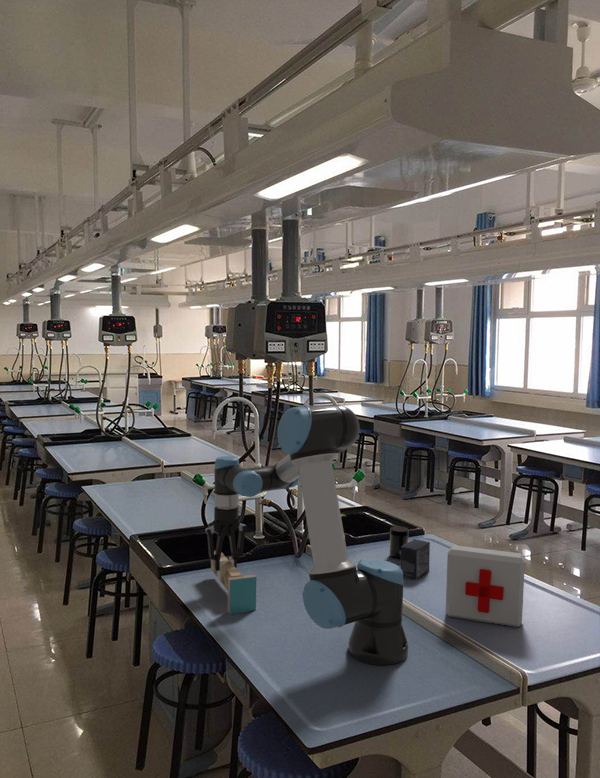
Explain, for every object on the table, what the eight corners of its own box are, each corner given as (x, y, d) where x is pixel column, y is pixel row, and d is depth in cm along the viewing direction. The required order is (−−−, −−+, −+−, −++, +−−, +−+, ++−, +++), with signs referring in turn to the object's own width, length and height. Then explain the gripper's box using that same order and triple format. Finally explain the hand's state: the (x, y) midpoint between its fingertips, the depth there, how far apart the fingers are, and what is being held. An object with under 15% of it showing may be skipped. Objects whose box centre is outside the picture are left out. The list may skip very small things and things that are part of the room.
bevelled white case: (444, 619, 189) (446, 551, 188) (447, 608, 197) (450, 543, 195) (521, 631, 182) (524, 561, 180) (522, 620, 189) (525, 552, 188)
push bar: (241, 594, 197) (241, 575, 197) (231, 596, 196) (232, 576, 196) (219, 567, 219) (219, 550, 219) (210, 568, 218) (211, 551, 218)
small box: (412, 567, 232) (413, 538, 231) (429, 571, 228) (431, 541, 227) (398, 575, 224) (399, 545, 223) (416, 580, 220) (417, 549, 219)
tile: (255, 610, 193) (256, 576, 192) (229, 614, 190) (230, 580, 189) (253, 607, 195) (254, 574, 194) (227, 611, 192) (228, 578, 191)
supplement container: (396, 560, 238) (397, 532, 238) (385, 555, 244) (386, 527, 244) (411, 558, 242) (412, 530, 241) (400, 552, 248) (401, 525, 247)
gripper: (247, 501, 212) (246, 572, 214) (198, 505, 206) (197, 578, 208) (254, 507, 205) (253, 580, 207) (204, 511, 199) (203, 586, 201)
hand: (225, 579), depth 207 cm, fingers closed on push bar, 3 cm apart
